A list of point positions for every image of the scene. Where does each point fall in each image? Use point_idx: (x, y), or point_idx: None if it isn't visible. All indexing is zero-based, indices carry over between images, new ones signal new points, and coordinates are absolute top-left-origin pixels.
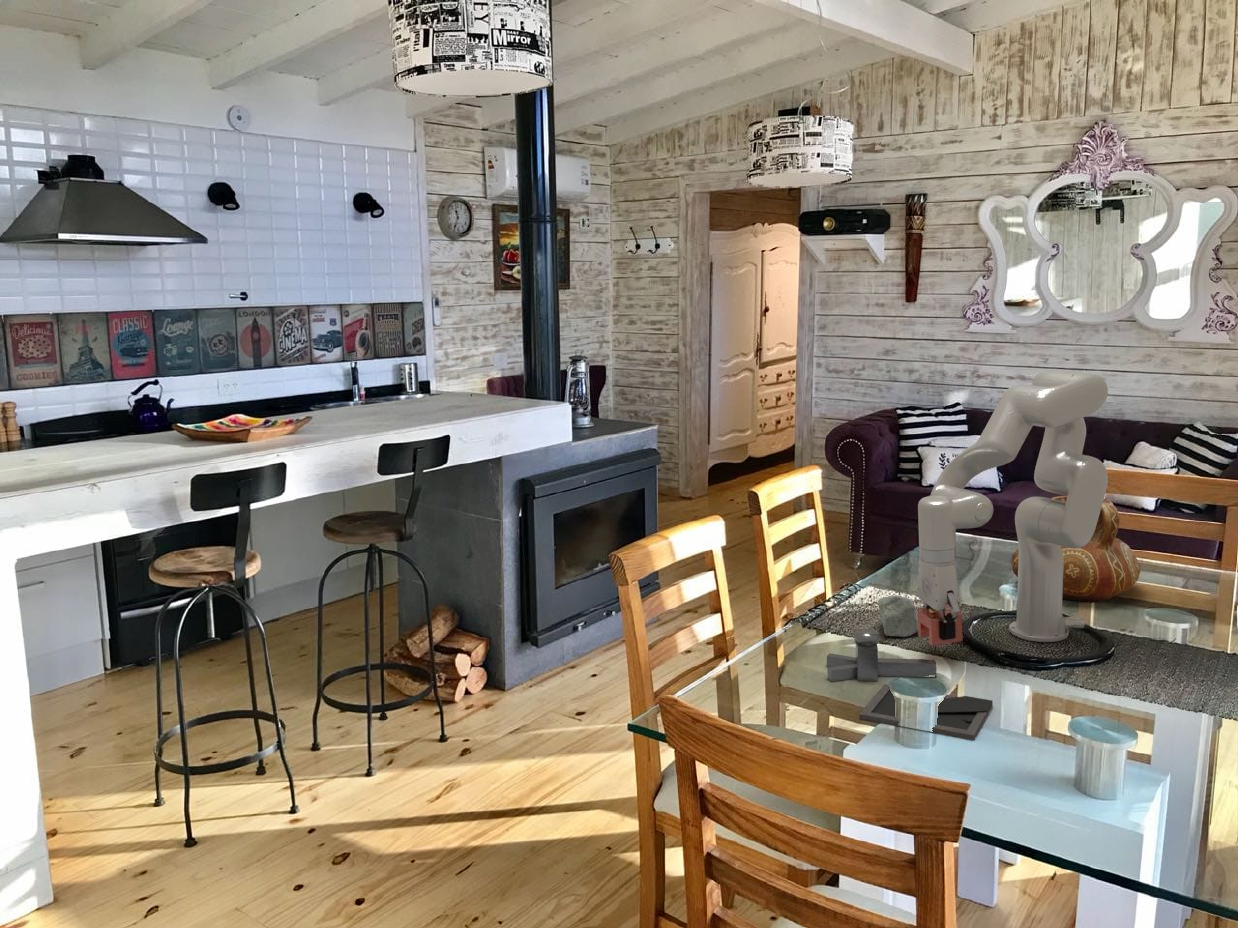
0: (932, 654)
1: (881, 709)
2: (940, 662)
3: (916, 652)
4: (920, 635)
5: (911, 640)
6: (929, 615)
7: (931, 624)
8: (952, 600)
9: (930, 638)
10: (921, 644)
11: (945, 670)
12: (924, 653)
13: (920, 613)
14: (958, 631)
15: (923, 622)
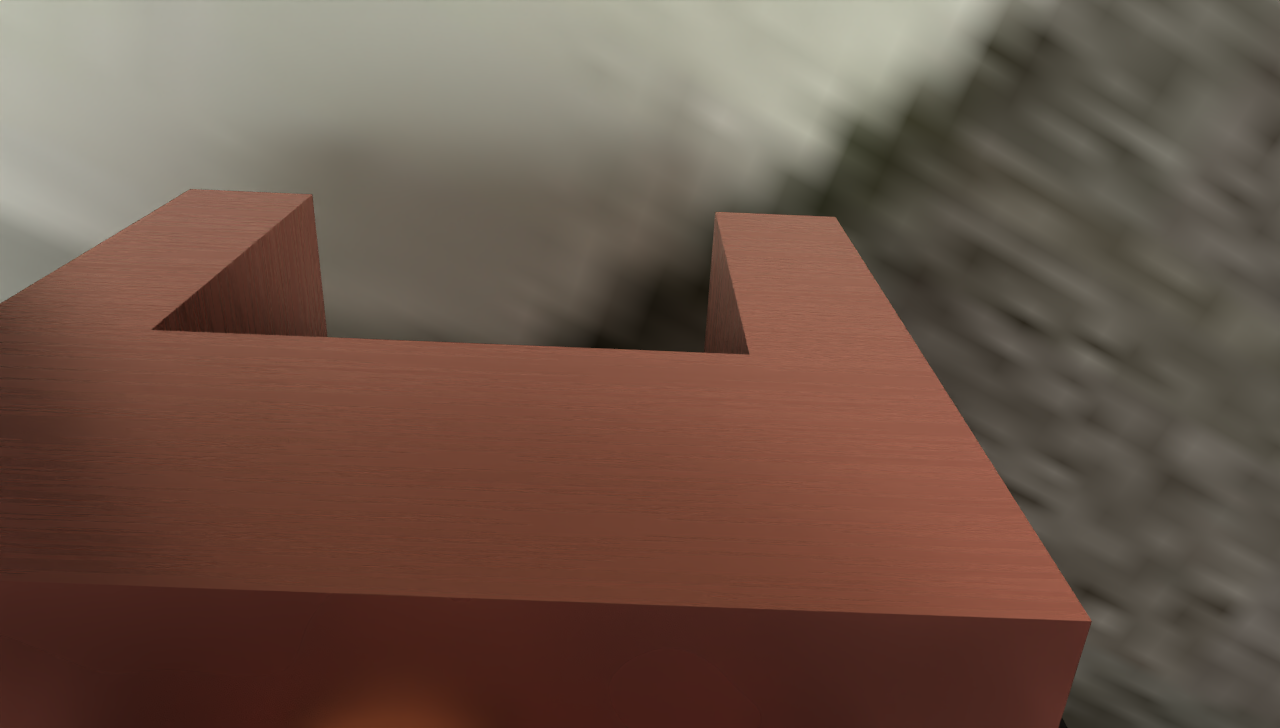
0: (652, 282)
1: None
2: (329, 235)
3: (811, 104)
4: (735, 223)
5: (1265, 276)
6: (113, 698)
7: None
8: None
9: (194, 234)
10: (1055, 328)
11: (3, 147)
12: (727, 197)
13: (758, 545)
14: None
15: (510, 378)
